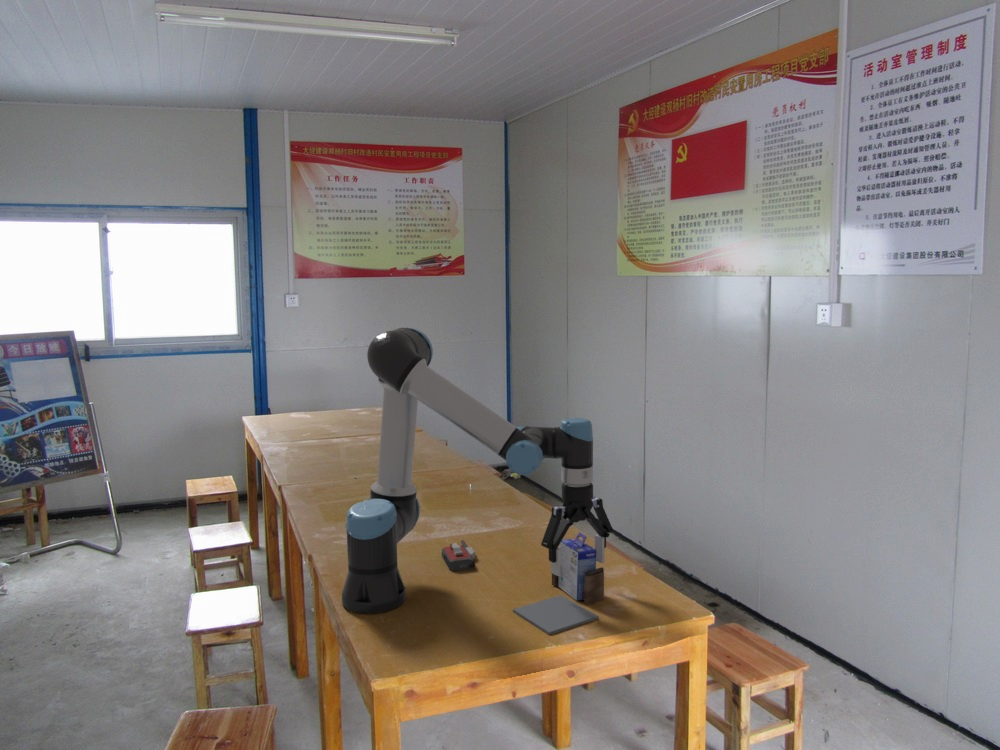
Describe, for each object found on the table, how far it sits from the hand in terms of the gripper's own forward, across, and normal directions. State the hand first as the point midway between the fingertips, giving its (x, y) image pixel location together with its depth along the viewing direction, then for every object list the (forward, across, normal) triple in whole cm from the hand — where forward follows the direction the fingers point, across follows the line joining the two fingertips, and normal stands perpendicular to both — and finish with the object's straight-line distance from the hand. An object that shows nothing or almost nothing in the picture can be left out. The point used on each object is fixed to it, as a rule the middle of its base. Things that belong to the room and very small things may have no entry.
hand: (578, 567), depth 187 cm
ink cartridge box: (+7, 0, 0) cm, 7 cm away
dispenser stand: (+6, 0, 0) cm, 6 cm away
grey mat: (+6, -12, -7) cm, 15 cm away
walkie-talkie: (+7, -12, +37) cm, 40 cm away
